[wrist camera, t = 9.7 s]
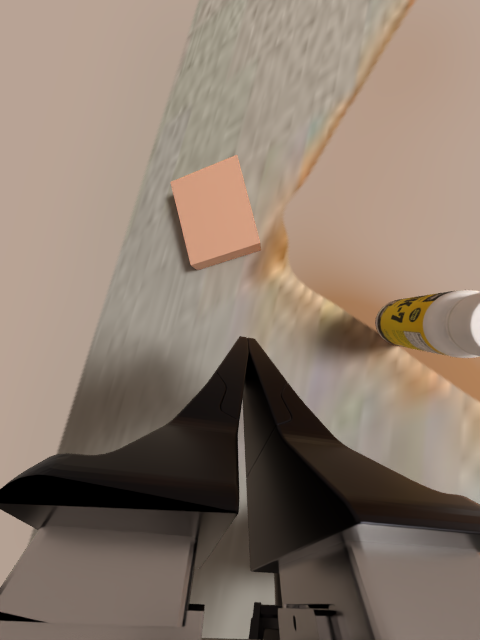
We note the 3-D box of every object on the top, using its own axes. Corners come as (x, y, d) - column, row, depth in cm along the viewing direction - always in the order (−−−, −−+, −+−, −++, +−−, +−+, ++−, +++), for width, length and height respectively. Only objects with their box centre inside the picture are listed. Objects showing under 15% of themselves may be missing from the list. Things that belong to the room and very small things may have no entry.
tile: (260, 242, 18) (237, 154, 19) (190, 265, 19) (170, 181, 20) (261, 251, 20) (240, 172, 21) (198, 271, 22) (180, 196, 22)
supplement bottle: (400, 290, 18) (517, 263, 10) (436, 323, 17) (592, 327, 9) (363, 321, 18) (443, 322, 10) (397, 355, 18) (510, 385, 10)
